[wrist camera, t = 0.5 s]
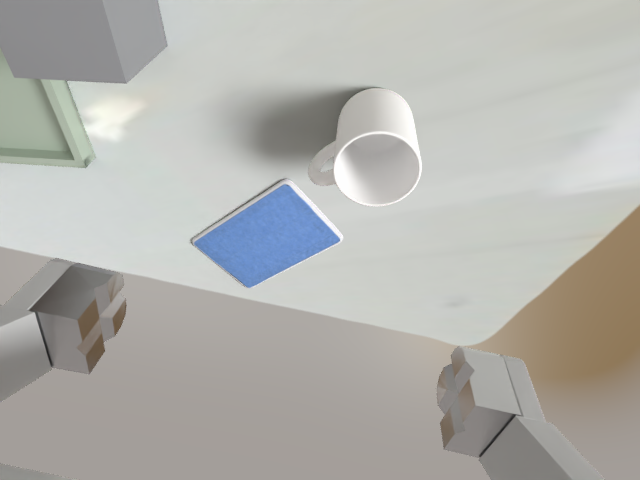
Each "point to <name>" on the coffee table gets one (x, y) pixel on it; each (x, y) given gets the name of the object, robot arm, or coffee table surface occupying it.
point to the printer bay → (80, 38)
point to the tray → (40, 123)
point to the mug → (372, 150)
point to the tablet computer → (268, 235)
